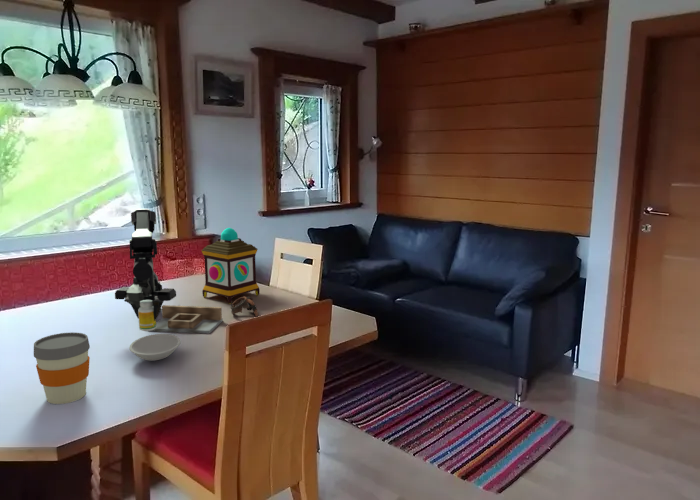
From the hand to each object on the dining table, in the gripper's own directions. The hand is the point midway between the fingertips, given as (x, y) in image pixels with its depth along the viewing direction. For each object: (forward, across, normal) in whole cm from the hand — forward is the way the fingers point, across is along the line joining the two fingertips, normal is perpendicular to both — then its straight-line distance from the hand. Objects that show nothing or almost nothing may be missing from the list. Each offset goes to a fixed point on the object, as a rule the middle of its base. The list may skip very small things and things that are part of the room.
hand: (147, 318), depth 180 cm
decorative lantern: (+7, +12, +53) cm, 55 cm away
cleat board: (+7, +8, +13) cm, 17 cm away
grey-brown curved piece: (+7, +25, +28) cm, 39 cm away
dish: (+7, +11, -18) cm, 22 cm away
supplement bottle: (+4, 0, 0) cm, 4 cm away
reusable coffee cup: (+7, -1, -44) cm, 45 cm away
